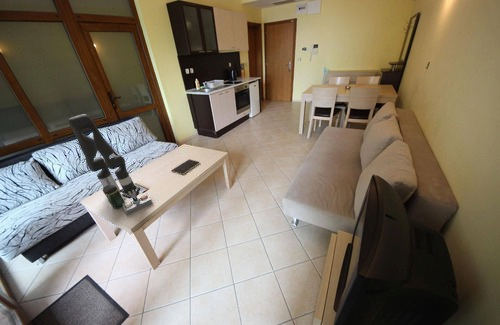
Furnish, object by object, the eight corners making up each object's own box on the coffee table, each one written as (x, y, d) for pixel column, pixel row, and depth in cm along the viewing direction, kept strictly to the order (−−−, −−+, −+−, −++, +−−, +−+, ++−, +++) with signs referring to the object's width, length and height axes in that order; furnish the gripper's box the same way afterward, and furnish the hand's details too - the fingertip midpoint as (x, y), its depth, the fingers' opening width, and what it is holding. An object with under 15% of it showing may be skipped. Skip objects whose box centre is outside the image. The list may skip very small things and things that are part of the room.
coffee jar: (127, 204, 151) (117, 185, 141) (117, 210, 145) (106, 191, 136) (121, 200, 155) (110, 182, 146) (111, 207, 149) (99, 188, 140)
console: (124, 207, 147) (122, 203, 145) (148, 196, 157) (146, 192, 155) (127, 215, 139) (125, 211, 137) (152, 203, 148) (150, 199, 146)
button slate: (134, 204, 148) (132, 200, 146) (140, 201, 150) (138, 197, 148) (135, 206, 145) (133, 202, 143) (141, 204, 147) (139, 200, 145)
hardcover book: (200, 163, 196) (199, 161, 195) (182, 175, 180) (182, 173, 179) (189, 160, 204) (188, 159, 203) (171, 171, 188) (171, 170, 186)
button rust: (142, 200, 150) (140, 196, 148) (147, 198, 153) (145, 194, 151) (143, 203, 148) (141, 199, 146) (148, 200, 150) (146, 196, 148)
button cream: (126, 208, 145) (124, 204, 143) (132, 205, 147) (130, 201, 145) (128, 210, 142) (125, 206, 140) (133, 207, 144) (131, 203, 142)
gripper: (134, 176, 142) (143, 194, 151) (115, 184, 136) (125, 202, 144) (137, 180, 137) (146, 198, 146) (116, 188, 130) (127, 207, 139)
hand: (136, 200), depth 145 cm, fingers closed
